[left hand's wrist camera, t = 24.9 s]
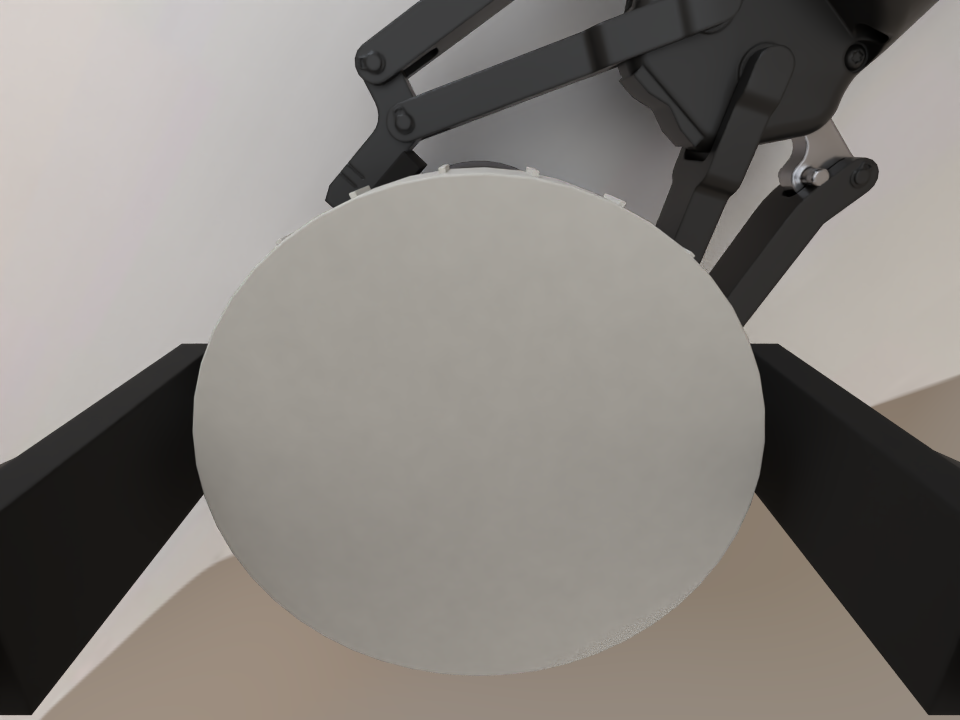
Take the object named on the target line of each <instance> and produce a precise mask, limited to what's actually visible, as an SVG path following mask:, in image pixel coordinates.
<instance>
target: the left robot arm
mask: <svg viewBox="0 0 960 720" xmlns="http://www.w3.org/2000/svg"><path fill="white" fill-rule="evenodd" d="M750 345H751V348H752V351H753V354H754V357H755V361H756V364H757V367H758V370H759V373H760V379H761V386H762V393H763V399H764V406H765V444H764V450H763V457H762V464H761V470H760V475H759V479H758V482H757V485H756V489H755V493H756V494H757V496H758V497H759V498H760V500H761V501H762V502H763V503H764V505H765V506H766V507H767V509H768V510H769V511H770V512H771V514H772V515H773V516H774V517H775V519H776V520H777V521H778V523H779V524H780V525H781V526H782V528H783V529H784V530H785V532H786V533H787V534H788V535H789V537H790V538H791V539H792V541H793V542H794V543H795V544H796V546H797V547H798V548H799V550H800V551H801V552H802V553H803V555H804V556H805V557H806V559H807V560H808V561H809V562H810V564H811V565H812V566H813V568H814V569H815V570H816V571H817V573H818V574H819V575H820V577H821V578H822V579H823V580H824V582H825V583H826V584H827V585H828V587H829V588H830V589H831V591H832V592H833V593H834V594H835V596H836V597H837V598H838V600H839V601H840V602H841V603H842V605H843V606H844V607H845V609H846V610H847V611H848V612H849V614H850V615H851V616H852V618H853V619H854V620H855V621H856V623H857V624H858V625H859V627H860V628H861V629H862V630H863V632H864V633H865V634H866V635H867V637H868V638H869V639H870V641H871V642H872V643H873V645H874V646H875V647H876V648H877V650H878V651H879V652H880V653H881V655H882V656H883V657H884V659H885V660H886V661H887V662H888V664H889V665H890V666H891V668H892V669H893V670H894V671H895V673H896V674H897V675H898V677H899V678H900V679H901V680H902V682H903V683H904V684H905V686H906V687H907V688H908V689H909V691H910V692H911V693H912V695H913V696H914V697H915V698H916V700H917V701H918V702H919V704H920V705H921V706H922V707H923V709H924V710H925V711H926V712H927V714H928V715H960V462H959V461H956V460H954V459H952V458H950V457H947V456H945V455H943V454H941V453H938V452H936V451H934V450H932V449H931V448H929V447H928V446H927V445H925V444H924V443H922V442H921V441H919V440H918V439H916V438H915V437H913V436H912V435H910V434H909V433H908V432H906V431H905V430H903V429H902V428H900V427H899V426H897V425H896V424H894V423H893V422H891V421H890V420H889V419H887V418H886V417H884V416H883V415H881V414H880V413H878V412H877V411H875V410H874V409H872V408H871V407H870V406H868V405H867V404H865V403H864V402H862V401H861V400H859V399H858V398H856V397H855V396H854V395H852V394H851V393H849V392H848V391H846V390H845V389H843V388H842V387H840V386H839V385H837V384H836V383H835V382H833V381H832V380H830V379H829V378H827V377H826V376H824V375H823V374H821V373H820V372H818V371H817V370H816V369H814V368H813V367H811V366H810V365H808V364H807V363H805V362H804V361H802V360H801V359H799V358H798V357H797V356H795V355H794V354H792V353H791V352H789V351H788V350H786V349H785V348H783V347H782V346H781V345H779V344H750ZM207 346H208V344H181V345H179V346H178V347H177V348H175V349H174V350H172V351H171V352H169V353H168V354H166V355H165V356H163V357H162V358H161V359H159V360H158V361H156V362H155V363H153V364H152V365H150V366H149V367H147V368H146V369H144V370H143V371H142V372H140V373H139V374H137V375H136V376H134V377H133V378H131V379H130V380H128V381H127V382H125V383H124V384H123V385H121V386H120V387H118V388H117V389H115V390H114V391H112V392H111V393H109V394H108V395H106V396H105V397H104V398H102V399H101V400H99V401H98V402H96V403H95V404H93V405H92V406H90V407H89V408H88V409H86V410H85V411H83V412H82V413H80V414H79V415H77V416H76V417H74V418H73V419H71V420H70V421H69V422H67V423H66V424H64V425H63V426H61V427H60V428H58V429H57V430H55V431H54V432H52V433H51V434H50V435H48V436H47V437H45V438H44V439H42V440H41V441H39V442H38V443H36V444H35V445H33V446H32V447H31V448H29V449H28V450H26V451H25V452H23V453H22V454H20V455H19V456H17V457H16V458H14V459H11V460H9V461H7V462H5V463H3V464H0V715H32V714H33V713H34V711H35V710H36V709H37V707H38V706H39V705H40V704H41V702H42V701H43V700H44V698H45V697H46V696H47V695H48V693H49V692H50V691H51V689H52V688H53V687H54V686H55V684H56V683H57V682H58V680H59V679H60V678H61V677H62V675H63V674H64V673H65V671H66V670H67V669H68V668H69V666H70V665H71V664H72V662H73V661H74V660H75V659H76V657H77V656H78V655H79V653H80V652H81V651H82V650H83V648H84V647H85V646H86V645H87V643H88V642H89V641H90V639H91V638H92V637H93V636H94V634H95V633H96V632H97V630H98V629H99V628H100V627H101V625H102V624H103V623H104V621H105V620H106V619H107V618H108V616H109V615H110V614H111V612H112V611H113V610H114V609H115V607H116V606H117V605H118V603H119V602H120V601H121V600H122V598H123V597H124V596H125V594H126V593H127V592H128V591H129V589H130V588H131V587H132V585H133V584H134V583H135V582H136V580H137V579H138V578H139V577H140V575H141V574H142V573H143V571H144V570H145V569H146V568H147V566H148V565H149V564H150V562H151V561H152V560H153V559H154V557H155V556H156V555H157V553H158V552H159V551H160V550H161V548H162V547H163V546H164V544H165V543H166V542H167V541H168V539H169V538H170V537H171V535H172V534H173V533H174V532H175V530H176V529H177V528H178V526H179V525H180V524H181V523H182V521H183V520H184V519H185V518H186V516H187V515H188V514H189V512H190V511H191V510H192V509H193V507H194V506H195V505H196V503H197V502H198V501H199V500H200V498H201V497H202V496H203V494H204V493H203V489H202V485H201V481H200V477H199V474H198V470H197V466H196V458H195V449H194V440H193V412H194V396H195V391H196V386H197V381H198V376H199V371H200V366H201V362H202V359H203V357H204V354H205V351H206V348H207Z"/></svg>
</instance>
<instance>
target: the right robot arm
mask: <svg viewBox="0 0 960 720" xmlns="http://www.w3.org/2000/svg"><path fill="white" fill-rule="evenodd" d="M513 1H514V0H420V1H419V2H417V3H416V4H415V5H413V6H412V7H411V8H409V9H408V10H407V11H406V12H404V13H403V14H402V15H400V16H399V17H398V18H396V19H395V20H394V21H392V22H391V23H390V24H389V25H387V26H386V27H385V28H383V29H382V30H381V31H379V32H378V33H377V34H376V35H374V36H373V37H372V38H370V39H369V40H368V41H366V42H365V43H364V44H363V45H362V46H361V47H360V48H359V49H358V50H357V53H356V56H355V67H356V69H357V72H358V74H359V76H360V77H361V78H362V79H363V80H364V82H365V84H366V86H367V88H368V90H369V92H370V94H371V95H372V97H373V99H374V101H375V103H376V106H377V109H378V123H377V126H376V128H375V130H374V132H373V133H372V134H371V136H370V137H369V138H368V139H367V140H366V142H365V143H364V144H363V145H362V146H361V148H360V149H359V150H358V151H357V153H356V154H355V155H354V156H353V157H352V159H351V160H350V161H349V163H348V164H347V165H346V166H345V167H344V168H343V170H342V171H341V172H340V173H339V175H338V176H337V177H336V178H335V179H334V181H333V182H332V183H331V184H330V185H329V189H328V192H327V196H326V199H325V201H326V202H327V203H328V204H329V205H330V206H332V207H333V208H334V207H336V206H338V205H340V204H342V203H344V202H346V201H348V200H350V199H351V198H350V196H349V193H351V192H354V191H356V190H359V189H361V188H363V187H366V186H369V187H370V189H371V190H372V189H374V188H376V187H379V186H382V185H385V184H388V183H391V182H394V181H397V180H400V179H403V178H406V177H409V176H413V175H418V174H420V173H421V172H422V171H423V169H424V168H425V167H426V166H427V164H426V163H425V162H424V161H423V160H422V159H421V158H420V157H419V156H418V155H417V154H416V153H415V152H414V151H413V148H414V147H415V146H416V145H417V144H418V143H419V141H421V140H423V139H426V138H429V137H431V136H434V135H437V134H439V133H442V132H445V131H447V130H450V129H453V128H455V127H458V126H461V125H463V124H466V123H469V122H471V121H474V120H477V119H479V118H482V117H484V116H487V115H490V114H492V113H495V112H498V111H500V110H503V109H506V108H508V107H511V106H514V105H516V104H519V103H522V102H524V101H527V100H530V99H532V98H535V97H538V96H540V95H543V94H546V93H548V92H551V91H554V90H556V89H559V88H562V87H564V86H567V85H569V84H572V83H575V82H577V81H580V80H583V79H586V78H589V77H592V76H595V75H597V74H600V73H603V72H605V71H608V70H611V69H613V68H616V67H618V68H619V72H620V74H621V77H622V78H621V79H620V80H619V82H620V83H621V84H622V85H623V87H624V88H625V89H626V90H627V91H628V92H629V93H630V95H631V96H632V97H633V98H635V99H636V100H638V101H639V102H641V103H642V104H644V105H646V106H647V107H649V108H650V109H652V111H653V112H654V115H655V117H656V119H657V121H658V123H659V125H660V128H661V130H662V131H663V133H664V134H665V135H666V136H667V137H668V138H669V139H670V141H671V142H672V143H673V144H674V145H675V146H681V147H682V149H681V151H680V154H679V156H678V159H677V162H676V164H675V167H674V170H673V174H672V180H673V181H672V185H671V188H670V191H669V193H668V196H667V198H666V201H665V203H664V206H663V209H662V211H661V214H660V216H659V219H658V221H657V224H656V227H657V228H658V229H660V230H661V231H662V232H664V233H665V234H666V235H668V236H669V237H670V238H671V239H673V240H674V241H675V242H677V243H678V244H679V245H681V246H682V247H683V248H685V249H687V250H689V251H691V252H692V253H693V254H694V255H695V257H694V259H695V260H696V261H697V262H698V263H699V264H700V262H701V260H702V258H703V255H704V253H705V251H706V248H707V246H708V244H709V241H710V239H711V237H712V235H713V232H714V230H715V228H716V225H717V223H718V221H719V218H720V216H721V214H722V211H723V209H724V207H725V204H726V202H727V200H728V199H729V197H730V196H731V195H733V194H734V193H735V192H736V191H737V190H738V188H739V187H740V185H741V183H742V181H743V179H744V176H745V174H746V172H747V170H748V167H749V165H750V163H751V160H752V158H753V156H754V154H755V151H756V149H757V147H758V145H761V144H766V143H771V142H776V141H781V140H787V139H791V140H792V142H793V151H792V154H791V156H790V158H789V160H788V161H787V162H786V163H785V165H784V166H783V167H782V168H781V169H780V171H779V172H778V178H779V182H780V185H779V186H778V187H776V188H775V189H774V190H773V191H772V192H771V193H770V194H769V195H768V196H767V197H766V198H765V199H764V200H763V201H762V203H761V204H760V205H759V206H758V208H757V209H756V210H755V211H754V213H753V214H752V215H751V217H750V218H749V220H748V221H747V222H746V224H745V225H744V226H743V228H742V229H741V231H740V232H739V233H738V235H737V236H736V237H735V239H734V240H733V242H732V243H731V244H730V246H729V247H728V248H727V250H726V251H725V252H724V254H723V255H722V257H721V258H720V259H719V261H718V262H717V263H716V265H715V266H714V268H713V269H712V270H711V272H710V273H709V275H710V276H711V277H712V279H713V280H714V281H715V283H716V284H717V286H718V287H719V289H720V290H721V291H722V293H723V294H724V296H725V297H726V298H727V300H728V301H729V303H730V304H731V305H732V307H733V309H734V311H735V313H736V315H737V317H738V319H739V321H740V323H741V325H742V327H744V325H745V324H746V323H747V321H748V320H749V319H750V318H751V316H752V315H753V314H754V312H755V311H756V310H757V309H758V307H759V306H760V305H761V303H762V302H763V301H764V300H765V298H766V297H767V296H768V294H769V293H770V292H771V291H772V289H773V288H774V287H775V285H776V284H777V283H778V282H779V280H780V279H781V278H782V276H783V275H784V274H785V273H786V271H787V270H788V269H789V267H790V266H791V265H792V264H793V262H794V261H795V260H796V258H797V257H798V256H799V255H800V253H801V252H802V251H803V249H804V248H805V247H806V246H807V244H808V243H809V242H810V240H811V239H812V238H813V237H814V235H815V234H816V233H817V231H818V230H819V229H820V228H821V226H822V225H823V224H824V223H825V222H827V221H828V220H829V219H831V218H832V217H833V216H835V215H836V214H838V213H839V212H840V211H842V210H843V209H845V208H846V207H847V206H849V205H850V204H851V203H853V202H854V201H856V200H857V199H858V198H860V197H861V196H862V195H864V194H865V193H867V192H868V191H869V190H870V189H871V188H872V187H873V186H874V185H875V183H876V181H877V179H878V173H879V170H878V166H877V164H876V163H875V162H874V161H873V160H872V159H868V158H861V157H853V155H852V154H851V152H850V151H849V149H848V147H847V145H846V144H845V142H844V140H843V138H842V137H841V135H840V133H839V131H838V129H837V128H836V126H835V124H834V122H833V121H832V119H831V118H832V116H833V115H834V113H835V112H836V110H837V108H838V106H839V103H840V101H841V98H842V96H843V94H844V92H845V91H846V89H847V87H848V86H849V84H850V83H851V81H852V80H853V79H854V78H855V76H856V75H857V74H858V73H859V72H860V71H862V70H863V69H864V68H865V67H866V66H868V65H869V64H870V63H871V62H872V61H873V60H875V59H876V58H877V57H878V56H879V55H881V54H882V53H883V52H884V51H885V50H886V49H887V48H888V47H889V46H891V45H892V44H893V43H894V42H895V41H896V40H897V39H898V38H899V37H900V36H901V35H902V34H903V33H904V32H905V31H907V30H908V29H909V28H910V27H911V26H912V25H913V24H914V23H915V22H916V21H917V20H918V19H919V18H920V17H921V16H923V15H924V14H925V13H926V12H927V11H928V10H929V9H930V8H931V7H932V6H933V5H934V4H935V3H936V2H938V1H939V0H627V1H626V6H625V11H624V14H622V15H619V16H617V17H614V18H612V19H609V20H606V21H604V22H602V23H599V24H597V25H595V26H593V27H591V28H589V29H587V30H585V31H583V32H580V33H578V34H575V35H573V36H570V37H567V38H565V39H562V40H560V41H557V42H554V43H552V44H549V45H547V46H544V47H542V48H539V49H536V50H534V51H531V52H529V53H526V54H523V55H521V56H518V57H516V58H513V59H511V60H508V61H505V62H503V63H500V64H498V65H495V66H492V67H490V68H487V69H485V70H482V71H480V72H477V73H474V74H472V75H469V76H467V77H464V78H461V79H459V80H456V81H454V82H451V83H448V84H446V85H443V86H441V87H438V88H436V89H433V90H430V91H428V92H425V93H423V94H420V95H417V96H416V95H415V93H414V91H413V89H412V87H411V85H410V83H409V80H408V78H410V77H411V76H412V75H414V74H415V73H416V72H418V71H419V70H420V69H422V68H423V67H425V66H426V65H427V64H429V63H430V62H431V61H433V60H434V59H435V58H437V57H438V56H439V55H441V54H442V53H443V52H445V51H446V50H448V49H449V48H450V47H452V46H453V45H454V44H456V43H457V42H458V41H460V40H461V39H462V38H464V37H465V36H467V35H468V34H469V33H471V32H472V31H473V30H475V29H476V28H477V27H479V26H480V25H481V24H483V23H484V22H485V21H487V20H488V19H490V18H491V17H492V16H494V15H495V14H496V13H498V12H499V11H500V10H502V9H503V8H504V7H506V6H507V5H508V4H510V3H511V2H513Z"/></svg>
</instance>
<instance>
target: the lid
mask: <svg viewBox="0 0 960 720" xmlns="http://www.w3.org/2000/svg"><path fill="white" fill-rule="evenodd" d="M539 173H540V171H538V170H536V169H534V168H532V167H527V168H526V171H521V170H509V169H498V168H487V167H480V168H460V169H450V168H449V164H445V165H442V166H441V167H439V168H438V171H434V172H429V173H424V174H418V175H413V176H409V177H406V178H403V179H400V180H397V181H394V182H391V183H388V184H385V185H382V186H379V187H376V188H374V189H372V190H371V189H370V187H369V186H366V187H363V188H361V189H359V190H356V191H354V192H351V193H349V196H350V198H351V199H350V200H348V201H346V202H344V203H342V204H340V205H338V206H336V207H334V208H332V209H331V210H329V211H327V212H325V213H323V214H321V215H319V216H317V217H315V218H314V219H313V220H311V221H310V222H308V223H307V224H305V225H304V226H303V227H301V228H300V229H298V230H297V231H295V232H293V233H291V234H289V235H287V236H285V237H283V238H281V239H279V240H278V241H277V242H276V244H277V245H278V246H277V247H276V248H275V249H273V250H272V251H271V252H270V253H269V254H268V255H267V256H266V257H265V258H264V259H263V260H262V261H261V262H260V263H259V264H258V265H257V266H256V267H255V268H254V269H253V270H252V271H251V273H250V274H249V275H248V277H247V278H246V279H245V281H244V282H243V283H242V284H241V286H240V287H239V288H238V290H237V291H236V292H235V293H234V295H233V296H232V297H231V299H230V301H229V302H228V304H227V306H226V308H225V310H224V311H223V313H222V315H221V317H220V319H219V321H218V322H217V324H216V326H215V328H214V330H213V332H212V335H211V337H210V340H209V343H208V346H207V348H206V351H205V354H204V357H203V359H202V362H201V366H200V371H199V376H198V381H197V386H196V391H195V396H194V412H193V440H194V449H195V458H196V466H197V470H198V474H199V477H200V481H201V485H202V489H203V493H204V496H205V499H206V501H207V504H208V506H209V508H210V511H211V513H212V516H213V518H214V520H215V523H216V525H217V527H218V529H219V530H220V532H221V534H222V536H223V537H224V539H225V541H226V542H227V544H228V546H229V547H230V549H231V551H232V553H233V554H234V555H235V557H236V558H237V559H238V560H239V562H240V563H241V564H242V566H243V567H244V568H245V569H246V571H247V572H248V573H249V575H250V576H251V577H252V578H253V579H254V580H255V581H256V582H257V583H258V585H259V586H261V588H262V589H263V590H264V591H265V592H266V593H267V594H268V595H269V596H270V597H271V598H272V599H273V600H275V601H276V602H277V603H278V604H279V605H281V606H282V607H283V608H284V609H286V610H287V611H288V612H289V613H291V614H292V615H293V616H294V617H296V618H297V619H298V620H300V621H301V622H303V623H304V624H306V625H308V626H309V627H311V628H312V629H314V630H315V631H317V632H319V633H320V634H322V635H323V636H325V637H327V638H329V639H331V640H333V641H335V642H337V643H339V644H341V645H343V646H345V647H347V648H349V649H351V650H353V651H356V652H359V653H361V654H364V655H367V656H370V657H372V658H375V659H378V660H380V661H383V662H387V663H391V664H395V665H399V666H402V667H406V668H410V669H415V670H421V671H427V672H434V673H440V674H450V675H467V676H489V675H509V674H517V673H524V672H532V671H538V670H543V669H547V668H551V667H556V666H560V665H564V664H568V663H571V662H574V661H577V660H580V659H583V658H586V657H589V656H592V655H595V654H598V653H600V652H602V651H604V650H606V649H608V648H611V647H613V646H615V645H617V644H619V643H622V642H624V641H626V640H627V639H629V638H631V637H633V636H634V635H636V634H638V633H639V632H641V631H643V630H644V629H646V628H648V627H650V626H651V625H653V624H654V623H655V622H657V621H658V620H659V619H661V618H662V617H663V616H665V615H666V614H667V613H669V612H670V611H671V610H673V609H674V608H675V607H677V606H678V605H679V604H680V603H681V602H682V601H683V600H684V599H685V598H686V597H688V596H689V595H690V594H691V593H692V592H693V591H694V590H695V589H696V588H697V587H698V586H699V585H700V584H701V583H702V582H703V580H704V579H705V578H706V577H707V576H708V574H709V573H710V572H711V571H712V570H713V568H714V567H715V566H716V565H717V564H718V562H719V561H720V560H721V558H722V557H723V555H724V554H725V552H726V550H727V549H728V547H729V546H730V544H731V543H732V541H733V539H734V538H735V536H736V535H737V533H738V531H739V529H740V527H741V524H742V522H743V520H744V518H745V516H746V514H747V511H748V509H749V507H750V505H751V502H752V498H753V495H754V492H755V489H756V485H757V482H758V479H759V475H760V470H761V464H762V457H763V450H764V444H765V406H764V399H763V393H762V386H761V379H760V373H759V370H758V367H757V364H756V361H755V357H754V354H753V351H752V348H751V345H750V342H749V339H748V337H747V335H746V333H745V331H744V329H743V327H742V325H741V323H740V321H739V319H738V317H737V315H736V313H735V311H734V309H733V307H732V305H731V304H730V303H729V301H728V300H727V298H726V297H725V296H724V294H723V293H722V291H721V290H720V289H719V287H718V286H717V284H716V283H715V281H714V280H713V279H712V277H711V276H710V275H709V274H708V273H707V272H706V271H705V270H704V269H703V268H702V267H701V265H700V264H699V263H698V262H697V261H696V260H695V259H694V257H695V255H694V254H693V253H692V252H691V251H689V250H687V249H685V248H683V247H682V246H681V245H679V244H678V243H677V242H675V241H674V240H673V239H671V238H670V237H669V236H668V235H666V234H665V233H664V232H662V231H661V230H660V229H658V228H657V227H656V226H654V225H653V224H652V223H651V222H649V221H647V220H645V219H643V218H642V217H640V216H638V215H636V214H634V213H633V212H631V211H629V210H627V209H625V208H624V206H625V205H626V202H625V201H623V200H621V199H618V198H616V197H614V196H611V195H609V194H606V193H605V194H604V196H603V197H602V196H600V195H598V194H596V193H593V192H591V191H588V190H586V189H583V188H580V187H578V186H575V185H573V184H570V183H567V182H565V181H562V180H560V179H556V178H552V177H547V176H543V175H539Z"/></svg>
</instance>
